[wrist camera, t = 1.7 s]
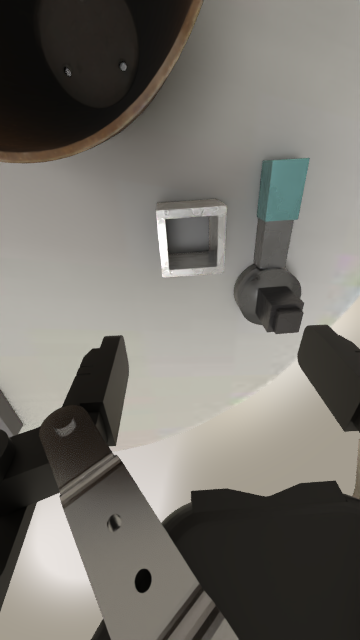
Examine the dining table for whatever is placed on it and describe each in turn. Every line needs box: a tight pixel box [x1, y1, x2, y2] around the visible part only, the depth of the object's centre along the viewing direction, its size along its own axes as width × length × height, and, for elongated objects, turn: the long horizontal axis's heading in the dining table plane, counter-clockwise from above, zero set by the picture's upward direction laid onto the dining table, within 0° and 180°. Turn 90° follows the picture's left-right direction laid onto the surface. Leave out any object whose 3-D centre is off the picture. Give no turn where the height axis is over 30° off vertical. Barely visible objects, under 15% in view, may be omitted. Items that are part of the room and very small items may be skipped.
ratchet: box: [234, 158, 310, 334], centre depth 25 cm, size 17×7×8 cm, turn 3°
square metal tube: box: [156, 199, 227, 278], centre depth 24 cm, size 6×6×5 cm
